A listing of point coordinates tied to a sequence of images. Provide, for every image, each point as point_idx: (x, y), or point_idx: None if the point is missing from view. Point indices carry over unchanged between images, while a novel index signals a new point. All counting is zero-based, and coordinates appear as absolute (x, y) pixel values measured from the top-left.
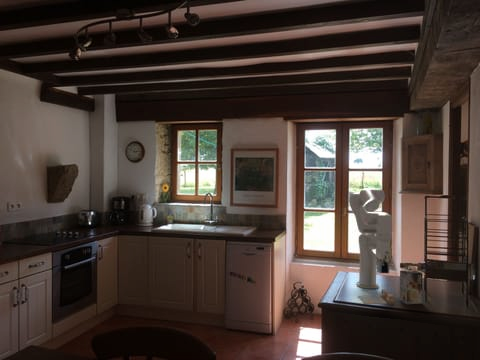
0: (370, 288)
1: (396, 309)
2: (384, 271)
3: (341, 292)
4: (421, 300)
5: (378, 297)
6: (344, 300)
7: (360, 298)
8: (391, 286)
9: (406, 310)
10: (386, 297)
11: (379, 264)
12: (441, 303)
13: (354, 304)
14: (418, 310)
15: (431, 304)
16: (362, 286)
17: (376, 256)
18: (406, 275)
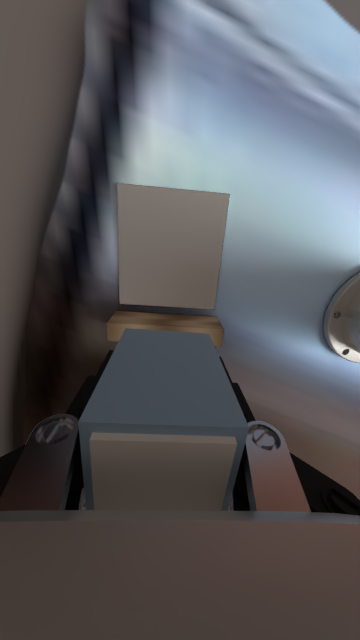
0: (327, 310)
1: (54, 312)
2: (89, 379)
3: (309, 111)
4: None
5: (197, 295)
6: (162, 66)
7: (184, 191)
8: (337, 406)
9: (50, 346)
10: (155, 318)
11: (103, 388)
12: None
13: (95, 112)
14: (59, 386)
15: None
16: (356, 278)
17: (341, 529)
18: (84, 500)
